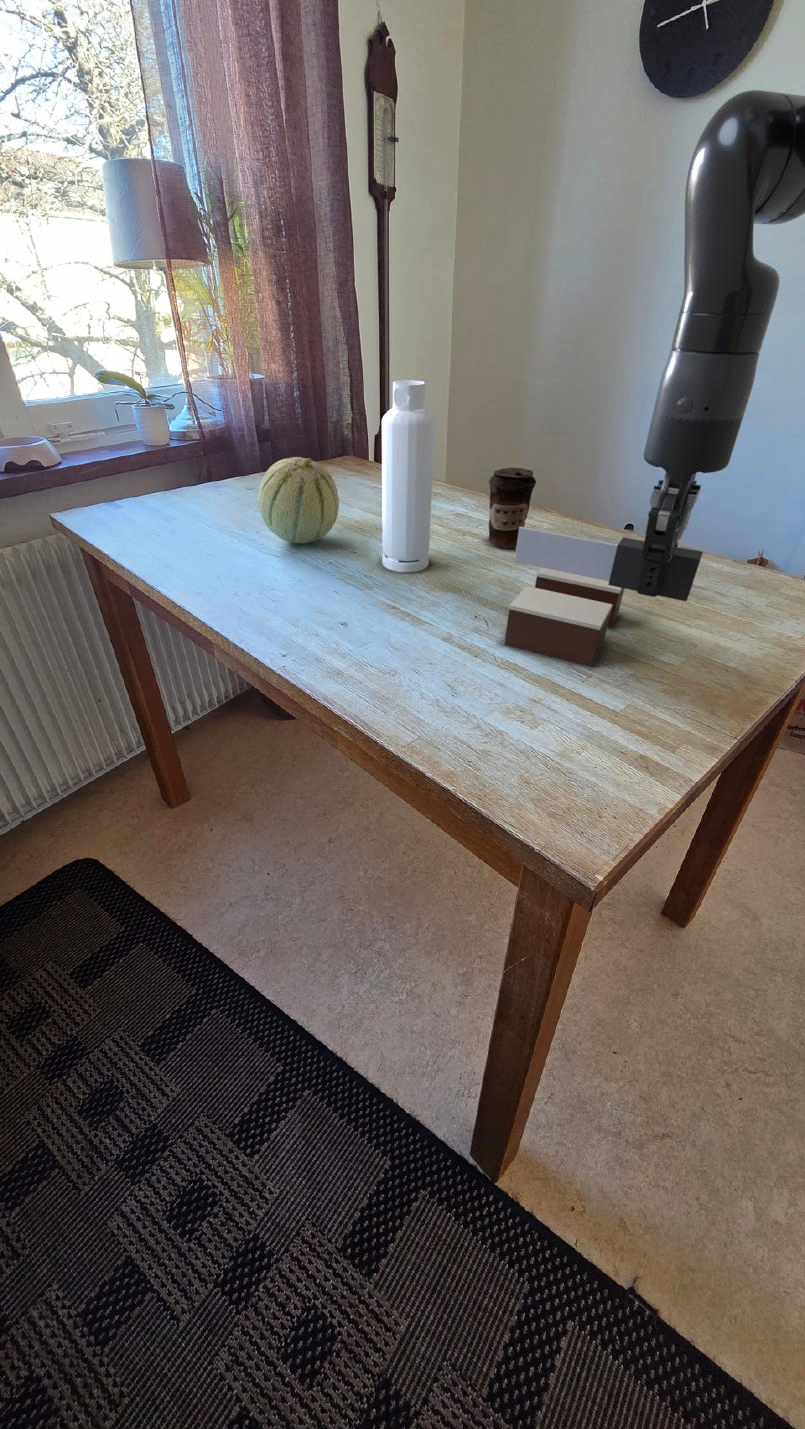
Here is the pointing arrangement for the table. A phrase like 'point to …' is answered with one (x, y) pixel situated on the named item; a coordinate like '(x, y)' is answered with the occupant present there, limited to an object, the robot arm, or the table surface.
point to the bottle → (407, 478)
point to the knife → (605, 560)
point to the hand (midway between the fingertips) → (650, 588)
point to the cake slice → (581, 588)
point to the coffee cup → (509, 504)
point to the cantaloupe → (298, 500)
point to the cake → (557, 625)
